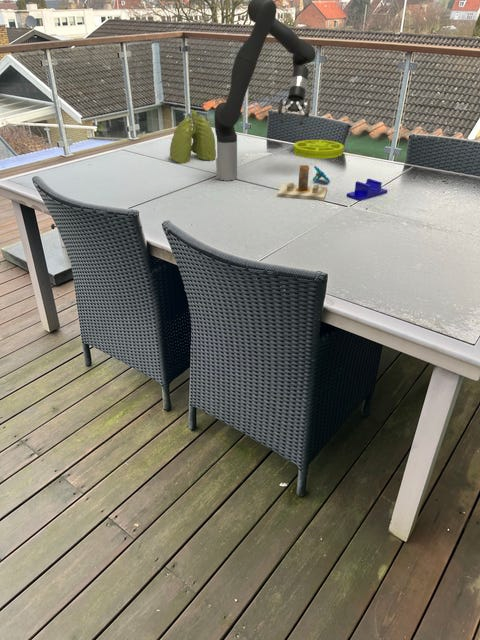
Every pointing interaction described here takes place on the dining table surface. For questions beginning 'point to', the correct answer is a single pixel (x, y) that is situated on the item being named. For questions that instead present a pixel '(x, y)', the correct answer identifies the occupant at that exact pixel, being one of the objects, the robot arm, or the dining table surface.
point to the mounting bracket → (367, 190)
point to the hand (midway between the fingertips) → (291, 123)
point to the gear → (320, 175)
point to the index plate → (302, 192)
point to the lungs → (201, 140)
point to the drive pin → (303, 178)
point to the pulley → (318, 149)
